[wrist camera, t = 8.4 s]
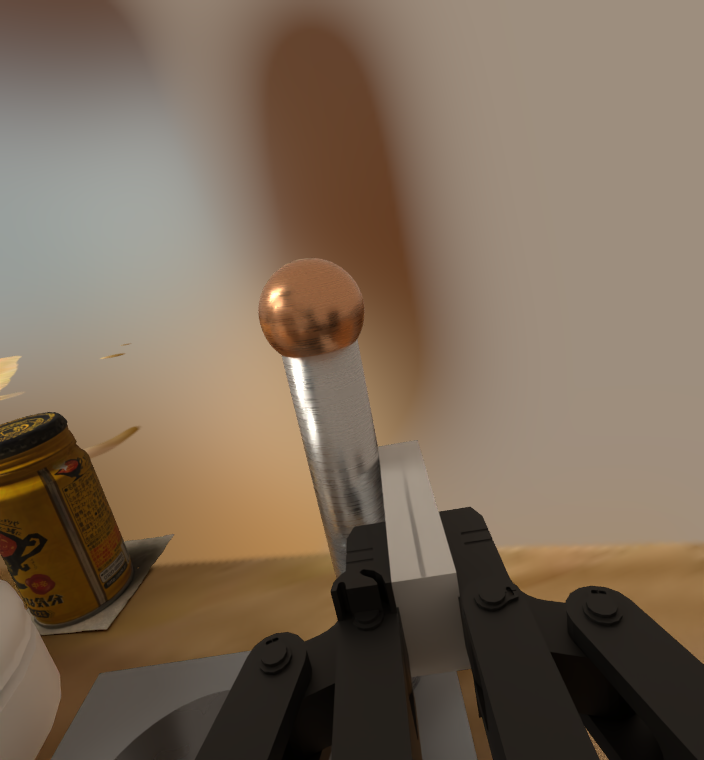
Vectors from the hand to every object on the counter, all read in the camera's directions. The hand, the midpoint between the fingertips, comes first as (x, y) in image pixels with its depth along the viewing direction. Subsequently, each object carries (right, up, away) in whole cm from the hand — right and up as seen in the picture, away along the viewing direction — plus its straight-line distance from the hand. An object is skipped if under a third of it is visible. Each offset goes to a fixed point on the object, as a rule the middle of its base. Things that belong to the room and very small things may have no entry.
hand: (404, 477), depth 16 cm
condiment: (-19, -10, +15) cm, 26 cm away
